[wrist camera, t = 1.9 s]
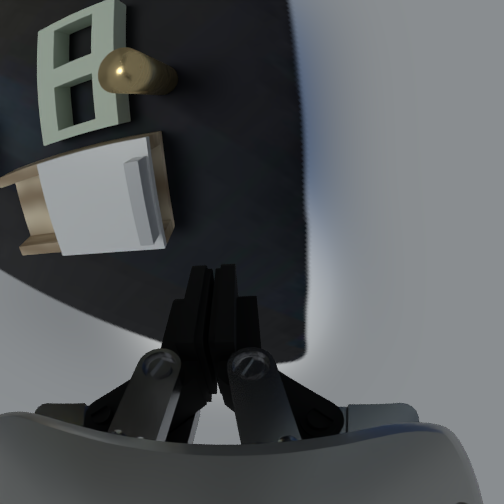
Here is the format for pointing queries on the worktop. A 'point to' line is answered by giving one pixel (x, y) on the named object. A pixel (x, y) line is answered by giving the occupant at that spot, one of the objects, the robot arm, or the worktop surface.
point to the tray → (37, 209)
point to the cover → (104, 199)
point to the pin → (135, 73)
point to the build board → (79, 71)
